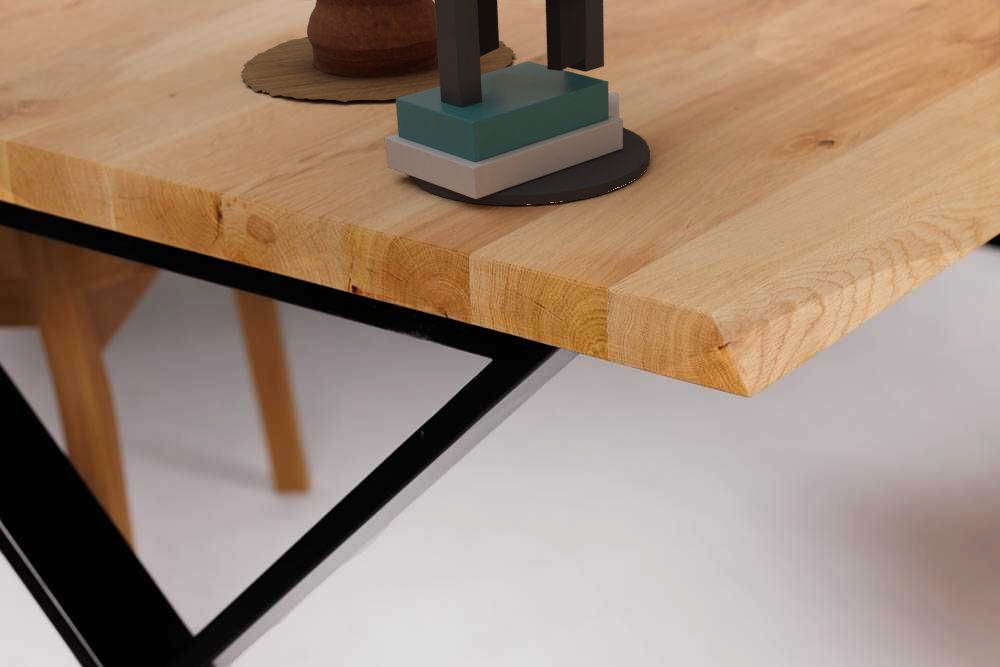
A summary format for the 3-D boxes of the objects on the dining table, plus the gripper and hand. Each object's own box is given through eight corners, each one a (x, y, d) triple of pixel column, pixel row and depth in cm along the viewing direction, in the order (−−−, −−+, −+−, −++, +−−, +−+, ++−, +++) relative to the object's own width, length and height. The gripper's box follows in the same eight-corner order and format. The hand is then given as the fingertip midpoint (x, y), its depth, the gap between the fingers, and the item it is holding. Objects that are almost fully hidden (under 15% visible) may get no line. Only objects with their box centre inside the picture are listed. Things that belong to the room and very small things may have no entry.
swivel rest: (359, 164, 76) (358, 153, 76) (539, 111, 83) (539, 101, 83) (512, 226, 67) (512, 214, 67) (700, 161, 74) (700, 149, 74)
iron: (475, 199, 68) (462, -50, 63) (386, 167, 73) (367, -67, 68) (666, 134, 76) (667, -93, 71) (573, 108, 81) (569, -106, 76)
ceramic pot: (478, 108, 84) (472, -14, 81) (195, 101, 88) (179, -15, 85) (539, 31, 100) (535, -73, 97) (297, 28, 104) (286, -72, 101)
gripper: (725, -485, 61) (713, 56, 71) (387, -456, 69) (419, 26, 80) (650, -494, 55) (648, 97, 66) (290, -461, 64) (338, 59, 74)
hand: (522, 57), depth 72 cm, fingers closed on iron, 4 cm apart
